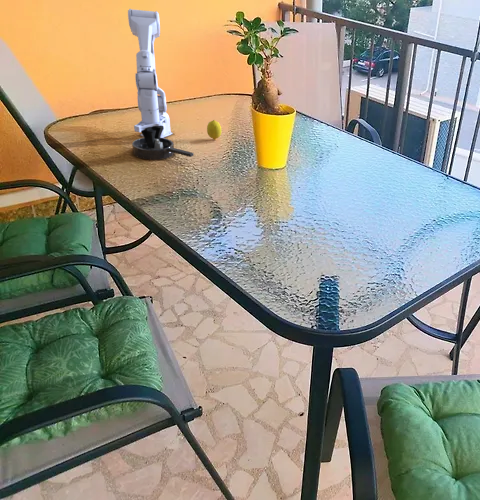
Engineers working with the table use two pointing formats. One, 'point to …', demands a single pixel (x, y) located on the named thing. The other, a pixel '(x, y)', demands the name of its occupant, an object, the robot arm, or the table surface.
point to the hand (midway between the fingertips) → (153, 146)
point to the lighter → (157, 145)
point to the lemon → (214, 129)
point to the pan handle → (181, 152)
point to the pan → (146, 153)
